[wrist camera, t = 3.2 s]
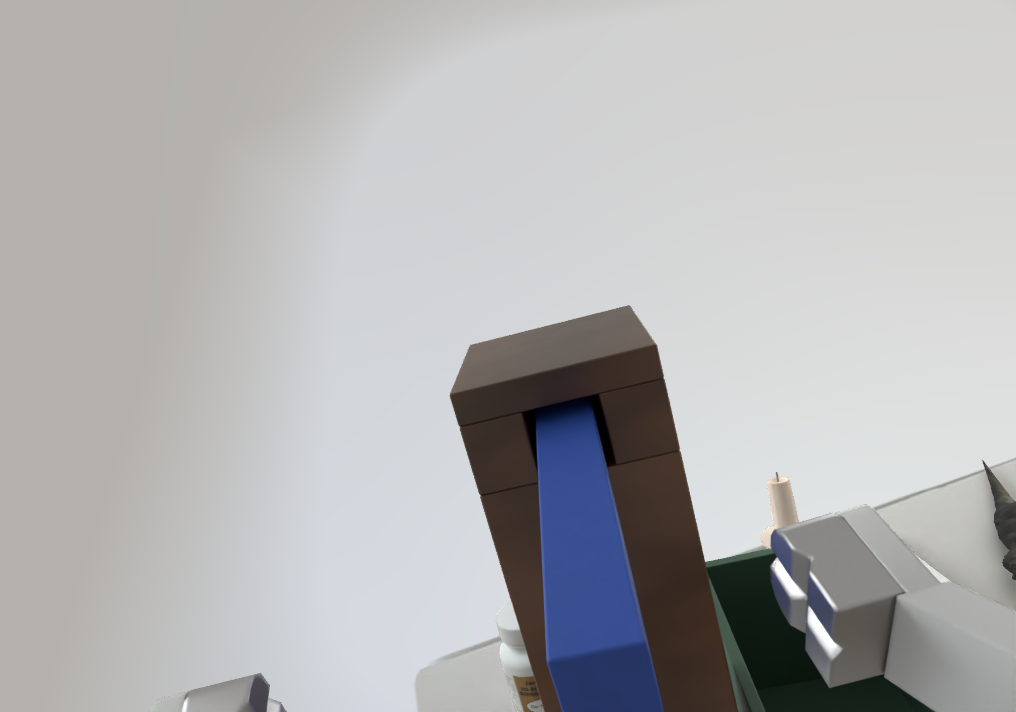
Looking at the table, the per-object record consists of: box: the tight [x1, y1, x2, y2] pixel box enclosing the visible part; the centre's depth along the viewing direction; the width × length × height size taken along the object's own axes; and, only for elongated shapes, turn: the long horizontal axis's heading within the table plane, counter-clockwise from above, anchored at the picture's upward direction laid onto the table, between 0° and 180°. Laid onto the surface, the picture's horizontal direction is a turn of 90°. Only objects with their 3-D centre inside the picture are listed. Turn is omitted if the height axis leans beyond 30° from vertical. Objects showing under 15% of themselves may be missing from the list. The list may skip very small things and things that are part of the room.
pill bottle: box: [496, 602, 544, 712], centre depth 46 cm, size 4×4×8 cm
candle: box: [760, 472, 799, 549], centre depth 50 cm, size 5×5×10 cm
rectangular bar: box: [535, 396, 664, 712], centre depth 21 cm, size 2×16×2 cm, turn 178°
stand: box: [450, 305, 738, 712], centre depth 30 cm, size 7×7×28 cm
